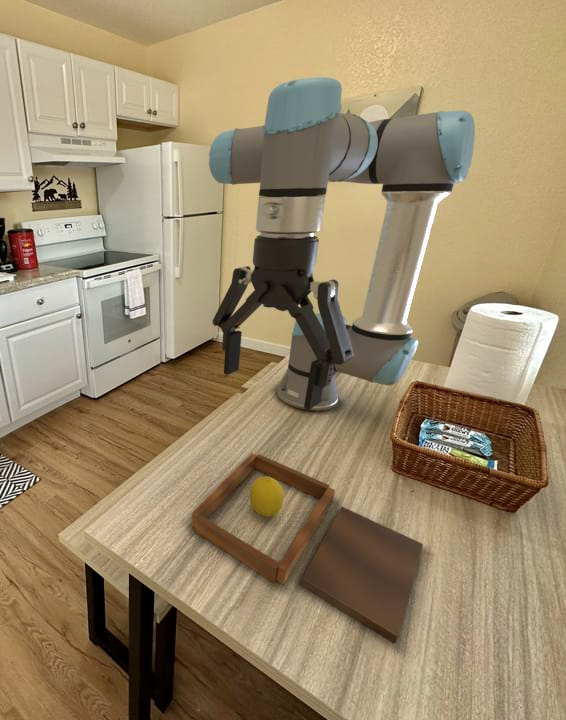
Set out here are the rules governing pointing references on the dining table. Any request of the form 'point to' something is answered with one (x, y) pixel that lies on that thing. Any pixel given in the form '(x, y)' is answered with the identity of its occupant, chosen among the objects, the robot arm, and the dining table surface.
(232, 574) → the dining table surface
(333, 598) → the cutting board
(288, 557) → the wooden frame
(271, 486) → the lemon
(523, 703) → the dining table surface
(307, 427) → the dining table surface
